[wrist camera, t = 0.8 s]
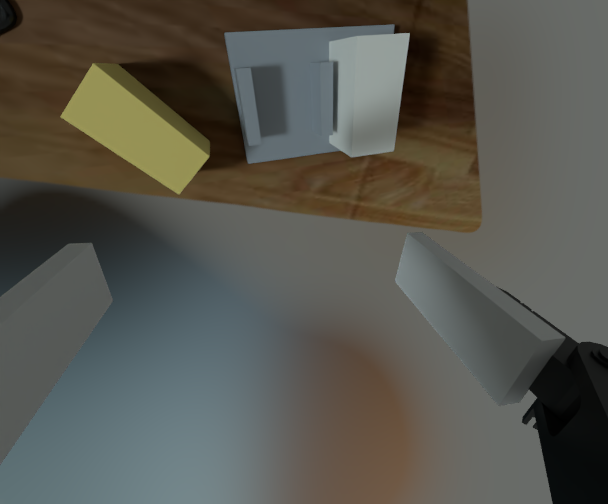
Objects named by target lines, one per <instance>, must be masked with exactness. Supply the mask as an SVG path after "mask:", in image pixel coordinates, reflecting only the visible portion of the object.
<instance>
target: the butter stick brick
mask: <svg viewBox="0 0 608 504" xmlns="http://www.w3.org/2000/svg"><path fill="white" fill-rule="evenodd" d="M61 118H63V119H64V120H66V121H67V122H69V123H70V124H72V125H74V126H75V127H77V128H78V129H80V130H81V131H83V132H84V133H86V134H87V135H89V136H90V137H92V138H93V139H95V140H96V141H98V142H99V143H101V144H103V145H104V146H106V147H107V148H109V149H110V150H112V151H113V152H115V153H116V154H118V155H119V156H121V157H122V158H124V159H125V160H127V161H128V162H130V163H131V164H133V165H135V166H136V167H138V168H139V169H141V170H142V171H144V172H145V173H147V174H148V175H150V176H151V177H153V178H154V179H156V180H157V181H159V182H160V183H162V184H164V185H165V186H167V187H168V188H170V189H171V190H173V191H174V192H176V193H177V194H180V193H181V191H182V190H183V189H184V188H185V187H186V185H187V184H188V183H189V182H190V180H191V179H192V178H193V177H194V175H195V174H196V173H197V172H198V170H199V169H200V168H201V167H202V165H203V164H204V163H205V162H206V161H207V159H208V158H209V157H210V141H209V140H208V139H207V138H205V137H204V136H203V135H202V134H201V133H200V132H198V131H197V130H196V129H195V128H194V127H192V126H191V125H190V124H189V123H188V122H186V121H185V120H184V119H183V118H182V117H180V116H179V115H178V114H177V113H176V112H174V111H173V110H172V109H171V108H170V107H169V106H167V105H166V104H165V103H164V102H163V101H161V100H160V99H159V98H158V97H157V96H155V95H154V94H153V93H152V92H151V91H149V90H148V89H147V88H146V87H145V86H143V85H142V84H141V83H140V82H139V81H137V80H136V79H135V78H134V77H133V76H132V75H130V74H129V73H128V72H127V71H126V70H124V69H123V68H122V67H121V66H120V65H118V64H104V63H93V64H92V66H91V68H90V69H89V71H88V73H87V74H86V76H85V78H84V79H83V81H82V82H81V84H80V86H79V87H78V89H77V91H76V92H75V94H74V95H73V97H72V99H71V100H70V102H69V104H68V105H67V107H66V109H65V110H64V112H63V113H62V115H61Z"/></svg>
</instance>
